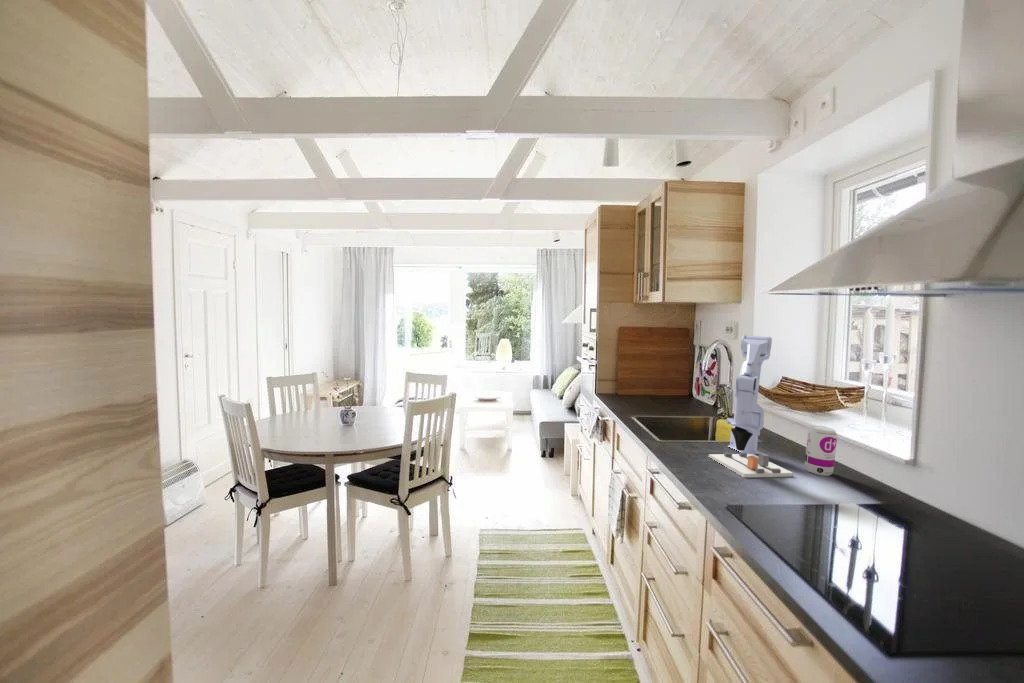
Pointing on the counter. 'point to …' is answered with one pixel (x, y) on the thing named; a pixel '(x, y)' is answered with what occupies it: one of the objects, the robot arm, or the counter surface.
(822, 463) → the supplement can
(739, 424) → the robot arm
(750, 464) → the fader orange
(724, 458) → the panel
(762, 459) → the grey rectangular box
